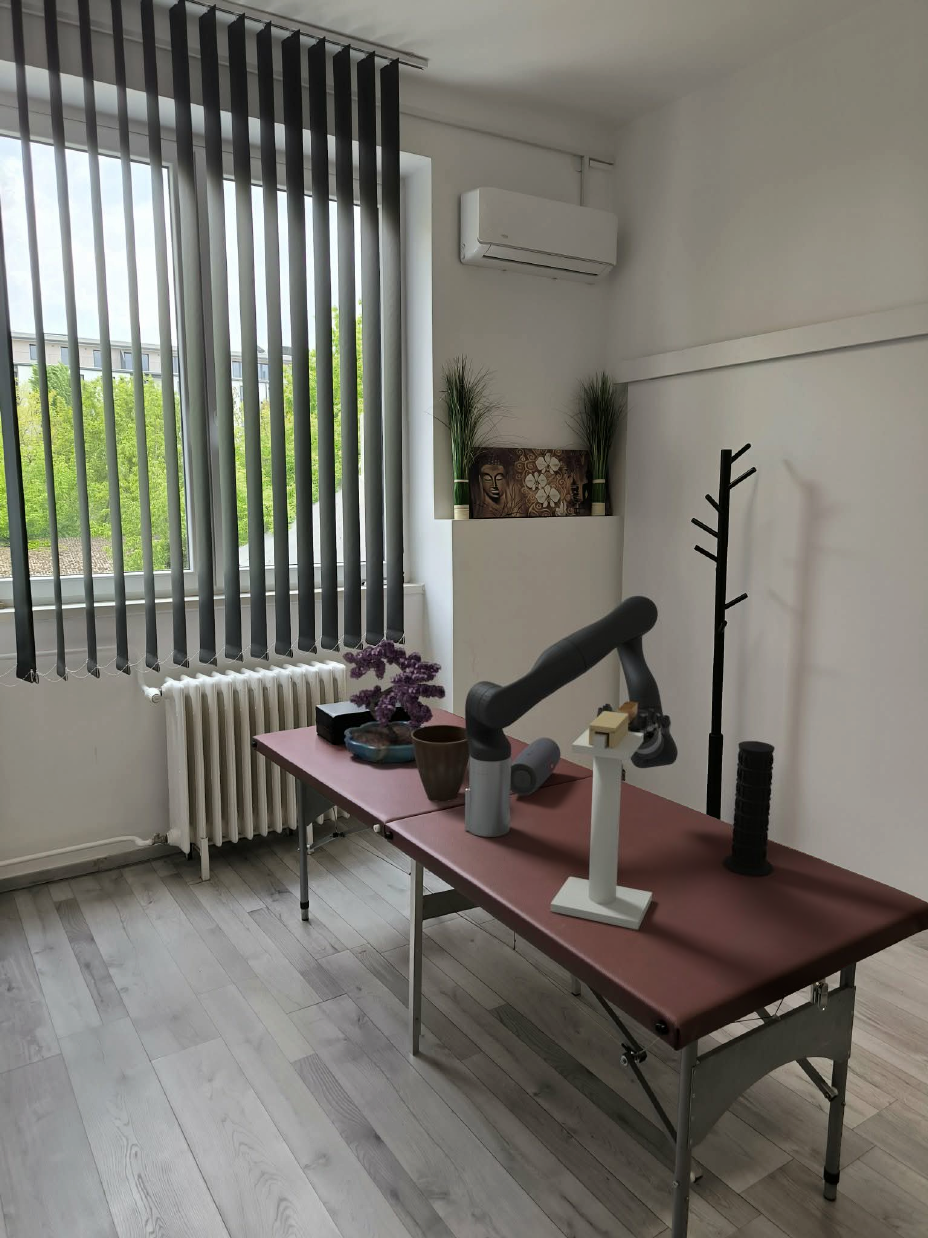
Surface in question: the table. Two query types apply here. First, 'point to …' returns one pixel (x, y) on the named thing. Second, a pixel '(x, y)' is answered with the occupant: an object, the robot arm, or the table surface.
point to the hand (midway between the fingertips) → (628, 711)
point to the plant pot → (441, 759)
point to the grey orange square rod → (603, 738)
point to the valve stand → (605, 833)
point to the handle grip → (752, 810)
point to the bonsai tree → (391, 703)
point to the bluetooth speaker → (534, 766)
